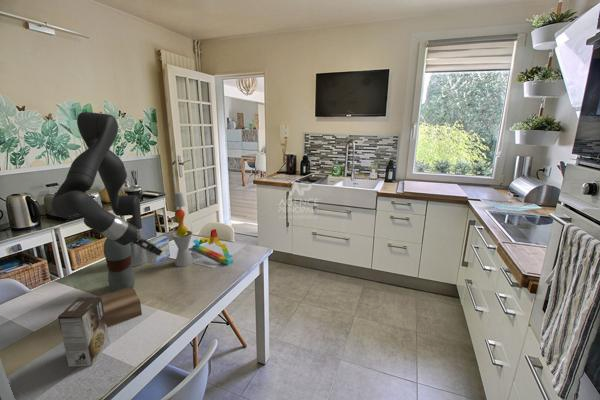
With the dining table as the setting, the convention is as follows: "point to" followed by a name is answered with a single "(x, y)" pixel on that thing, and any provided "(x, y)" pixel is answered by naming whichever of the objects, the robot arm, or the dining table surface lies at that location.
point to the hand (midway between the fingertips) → (156, 250)
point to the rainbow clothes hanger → (211, 253)
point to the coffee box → (84, 331)
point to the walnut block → (121, 306)
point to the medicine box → (163, 245)
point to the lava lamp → (181, 235)
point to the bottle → (119, 265)
